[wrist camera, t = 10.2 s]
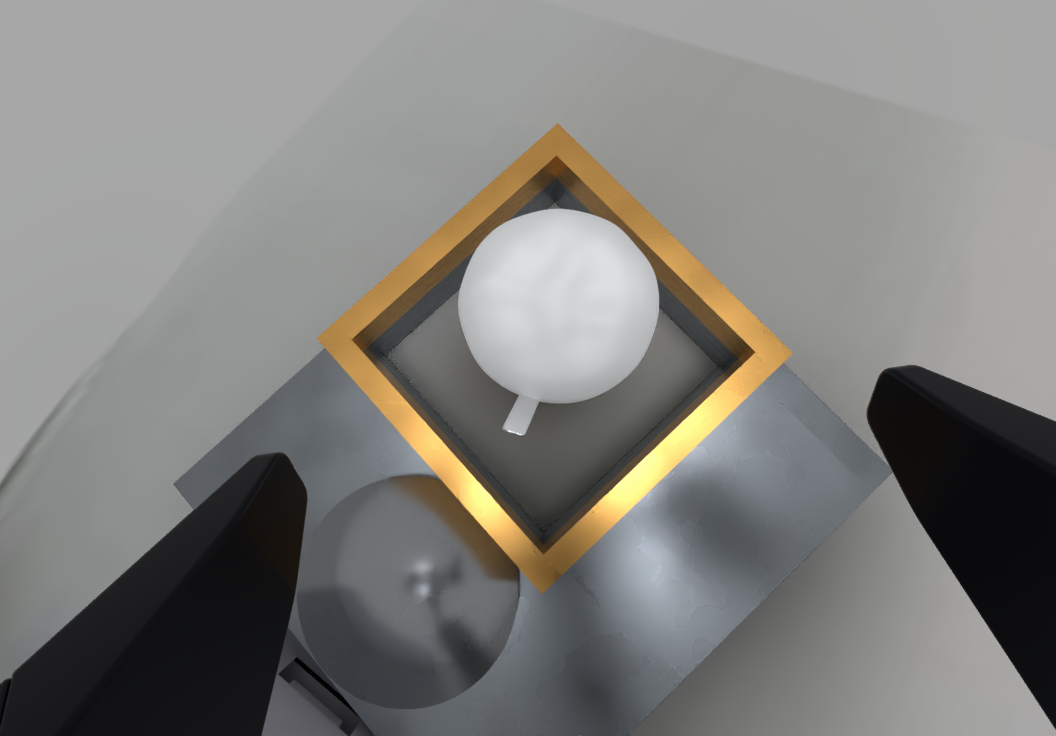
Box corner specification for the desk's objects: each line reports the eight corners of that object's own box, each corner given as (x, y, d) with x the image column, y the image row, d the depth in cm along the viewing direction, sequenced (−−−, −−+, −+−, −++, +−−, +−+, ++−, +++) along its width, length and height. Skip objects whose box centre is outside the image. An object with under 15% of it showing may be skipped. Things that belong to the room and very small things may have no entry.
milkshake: (472, 415, 20) (396, 397, 10) (515, 283, 20) (483, 141, 10) (587, 451, 19) (629, 471, 10) (627, 316, 20) (707, 202, 10)
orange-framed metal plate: (493, 826, 18) (480, 920, 15) (210, 478, 20) (139, 488, 16) (857, 467, 19) (926, 474, 16) (556, 168, 21) (558, 115, 17)
